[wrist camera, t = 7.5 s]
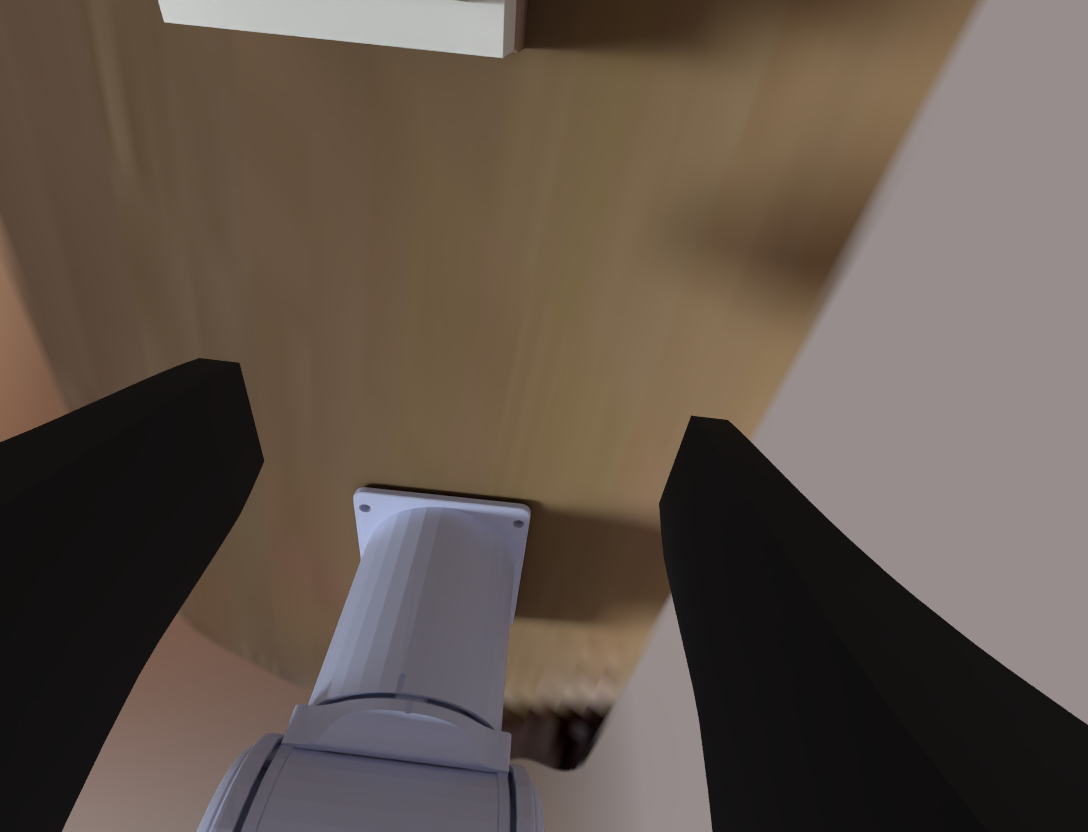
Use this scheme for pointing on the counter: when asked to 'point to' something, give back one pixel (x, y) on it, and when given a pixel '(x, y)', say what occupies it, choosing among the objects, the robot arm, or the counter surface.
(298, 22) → the top slab
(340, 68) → the counter surface
